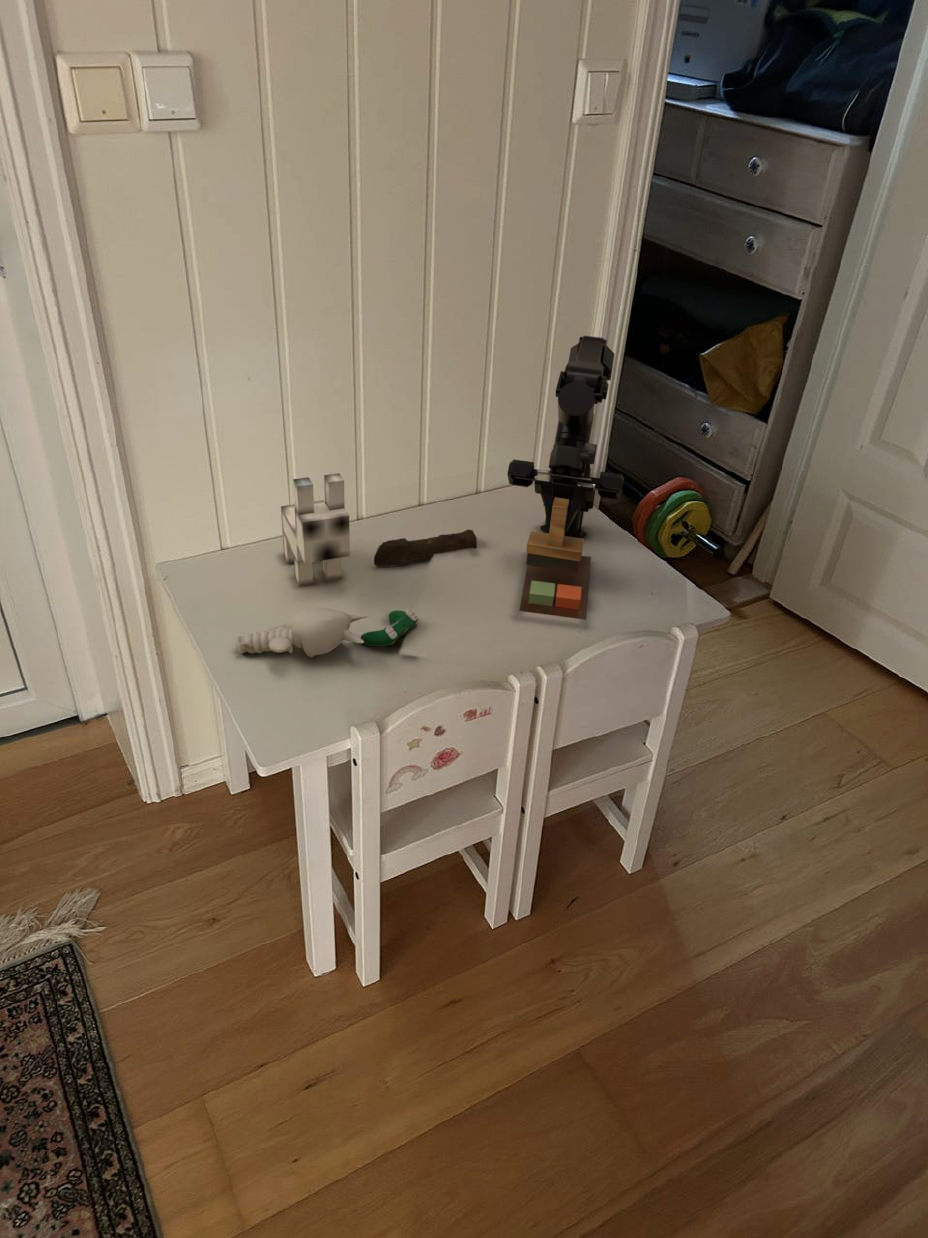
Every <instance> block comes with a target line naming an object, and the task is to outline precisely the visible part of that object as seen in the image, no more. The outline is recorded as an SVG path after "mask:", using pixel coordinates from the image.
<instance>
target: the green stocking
mask: <svg viewBox="0 0 928 1238" xmlns="http://www.w3.org/2000/svg"><path fill="white" fill-rule="evenodd" d="M388 620H389V622H391V623H392V624H391V625H390V624H388V625H387V626H386V627H385V628H383V629H380V630H374V631H367V632H365V633H363V634H361V635H360V638H361V639H362V640H363V641H364V642H363V643H361V644H363V645H365V646H369V647H385V646H387V647H388V646H392V645H393V644H395V643H396V640H397V639H399V637H402V636H404V635H405V634H406V633H407V631H408V630H409V629H411V628H412V627H413V626H415V624H417V622H418V621H419V618H418V615H417V614H416V613H415V611H414V610H413V609H411V608H408V609H407V610H406V611H404V610H397V609H395V610H392V611H390V612H389V613H388Z"/></svg>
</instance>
